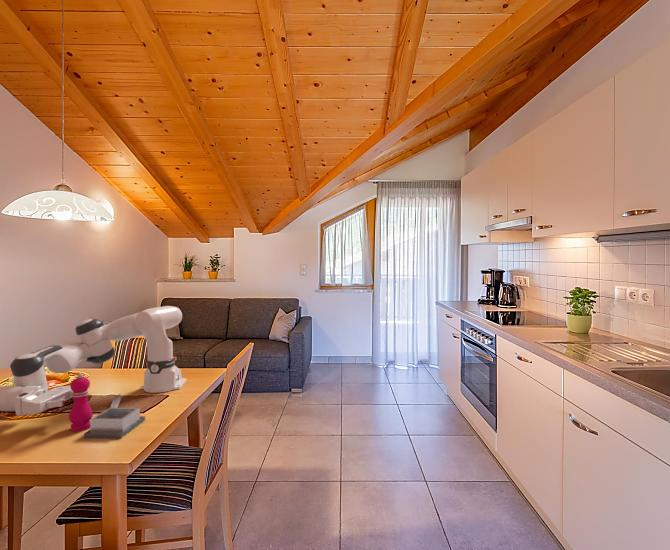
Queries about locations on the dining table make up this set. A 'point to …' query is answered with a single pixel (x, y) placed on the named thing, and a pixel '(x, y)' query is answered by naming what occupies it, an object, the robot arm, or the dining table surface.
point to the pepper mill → (80, 404)
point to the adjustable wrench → (116, 401)
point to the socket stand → (114, 423)
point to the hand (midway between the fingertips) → (72, 399)
